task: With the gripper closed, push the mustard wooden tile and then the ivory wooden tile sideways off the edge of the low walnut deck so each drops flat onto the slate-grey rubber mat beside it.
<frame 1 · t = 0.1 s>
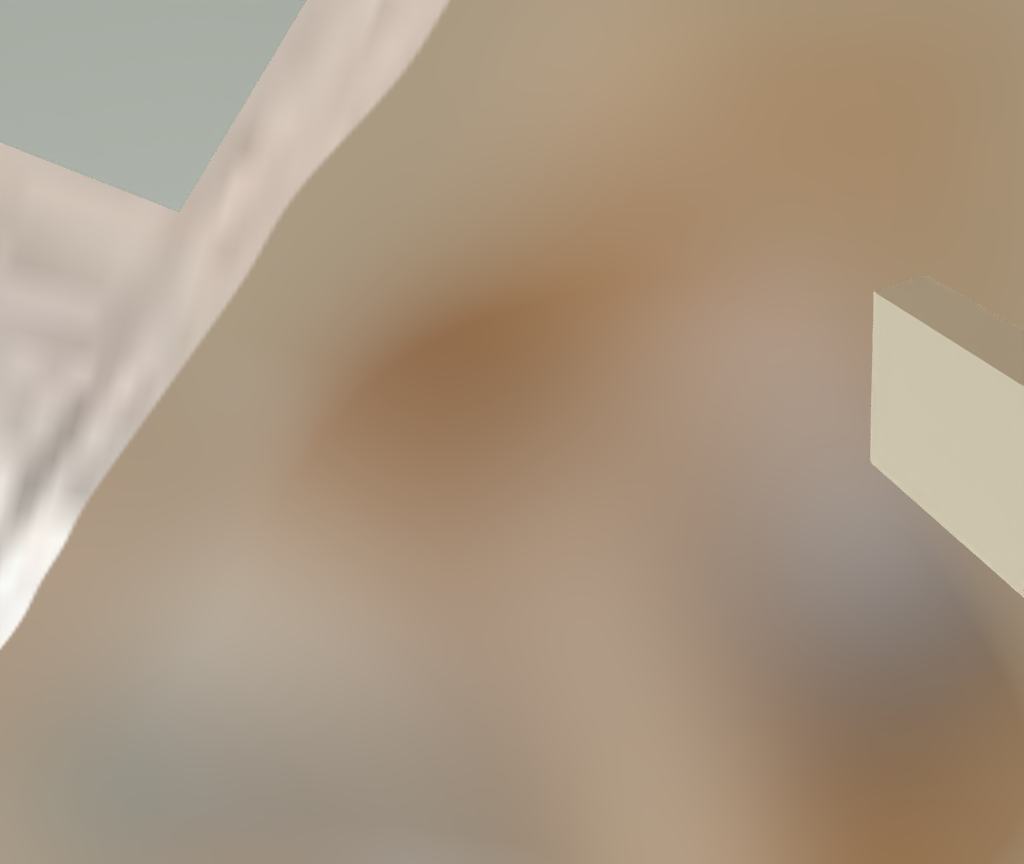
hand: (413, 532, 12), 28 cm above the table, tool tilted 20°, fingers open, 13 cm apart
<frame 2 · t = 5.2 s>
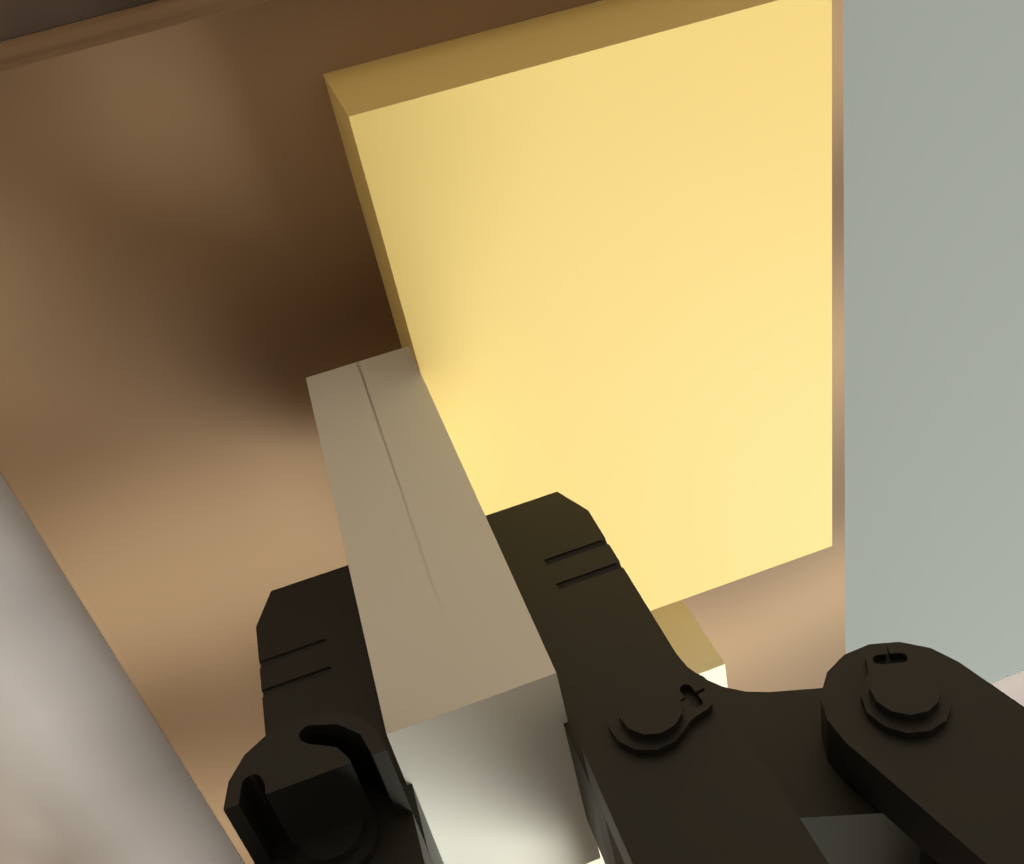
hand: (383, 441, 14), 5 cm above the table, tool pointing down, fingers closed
mustard tile: (582, 307, 16), point 3 cm above the table, touching walnut deck
slate mat: (1011, 320, 23), on the table
ivory tile: (565, 768, 21), point 3 cm above the table, touching walnut deck
walnut deck: (478, 505, 21), on the table
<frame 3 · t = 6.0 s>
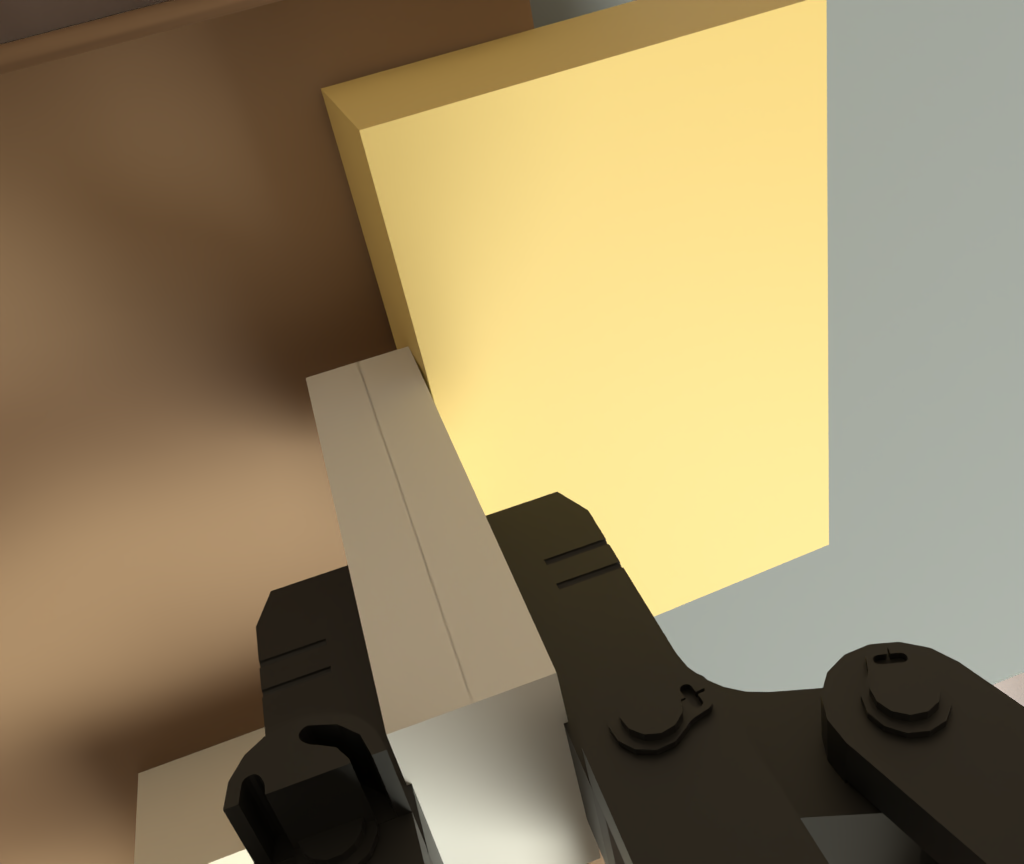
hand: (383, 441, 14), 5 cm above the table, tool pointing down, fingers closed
mustard tile: (577, 316, 16), point 3 cm above the table, touching gripper, walnut deck
slate mat: (830, 385, 22), on the table
ivory tile: (360, 850, 21), point 3 cm above the table, touching walnut deck
walnut deck: (265, 580, 20), on the table
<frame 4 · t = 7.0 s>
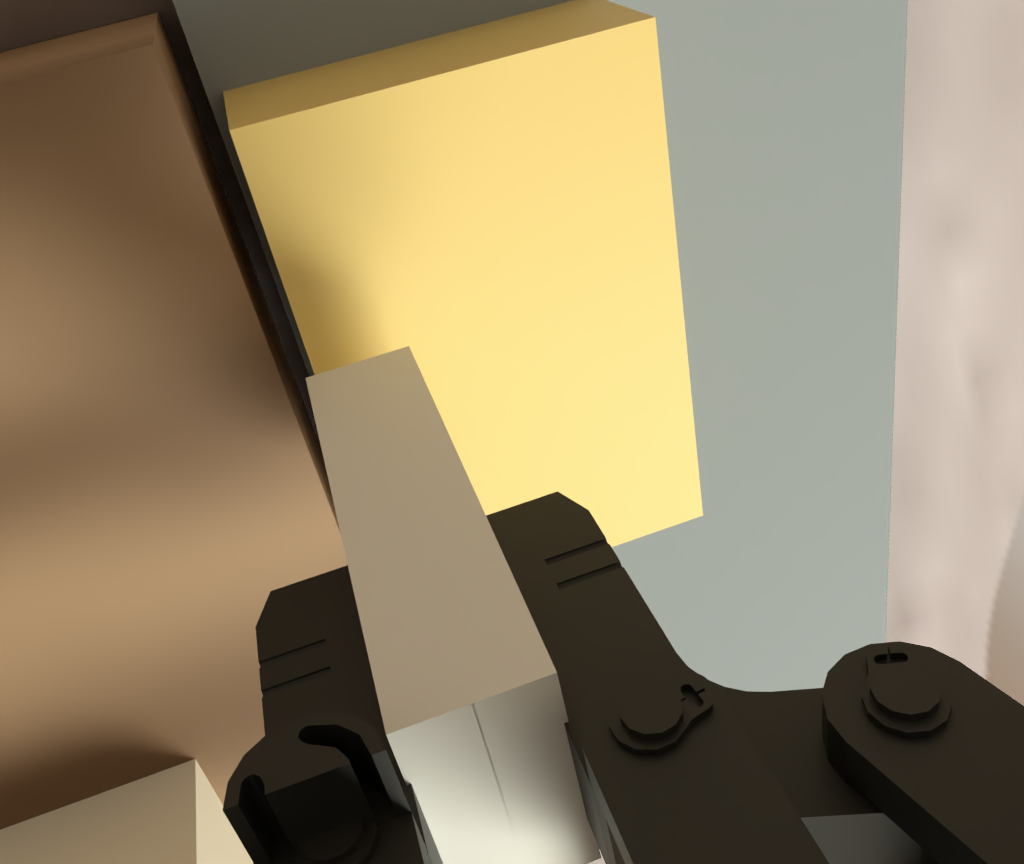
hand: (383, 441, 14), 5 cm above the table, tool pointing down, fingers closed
mustard tile: (472, 299, 17), point 1 cm above the table, touching slate mat
slate mat: (633, 460, 21), on the table
walnut deck: (30, 667, 20), on the table
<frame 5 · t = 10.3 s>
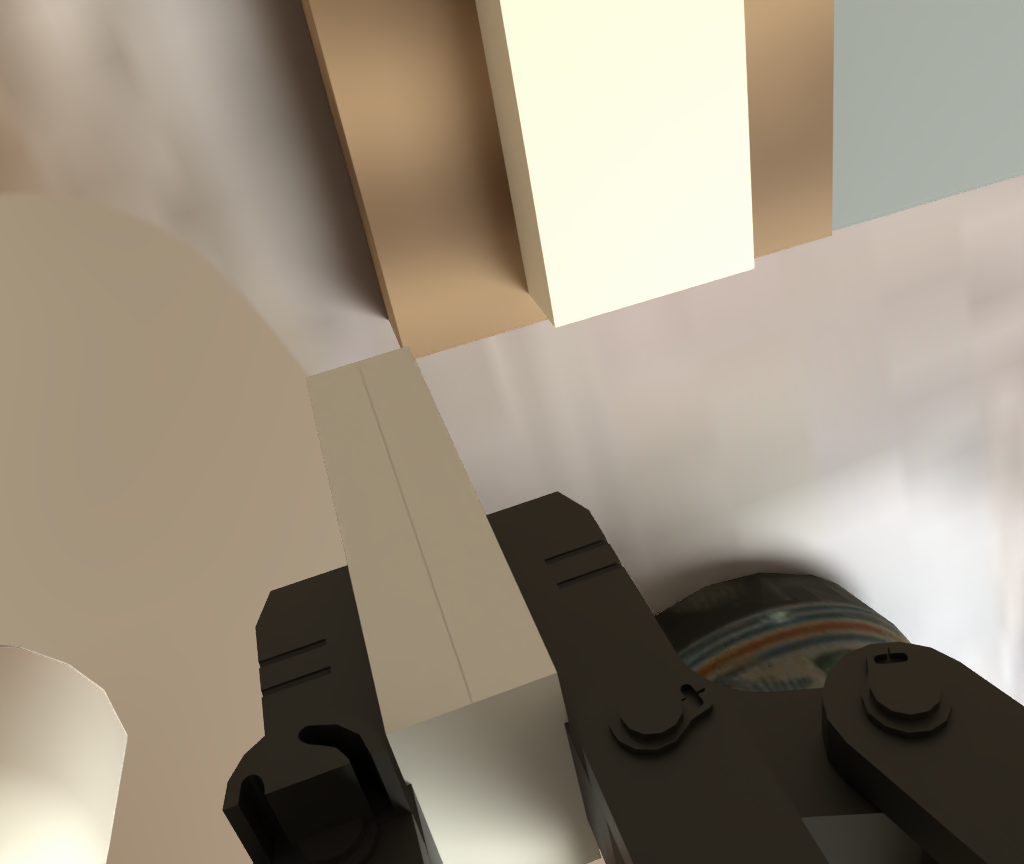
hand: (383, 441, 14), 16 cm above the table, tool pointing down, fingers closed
beer stein: (753, 693, 46), on the table
ivory tile: (604, 116, 26), point 3 cm above the table, touching walnut deck
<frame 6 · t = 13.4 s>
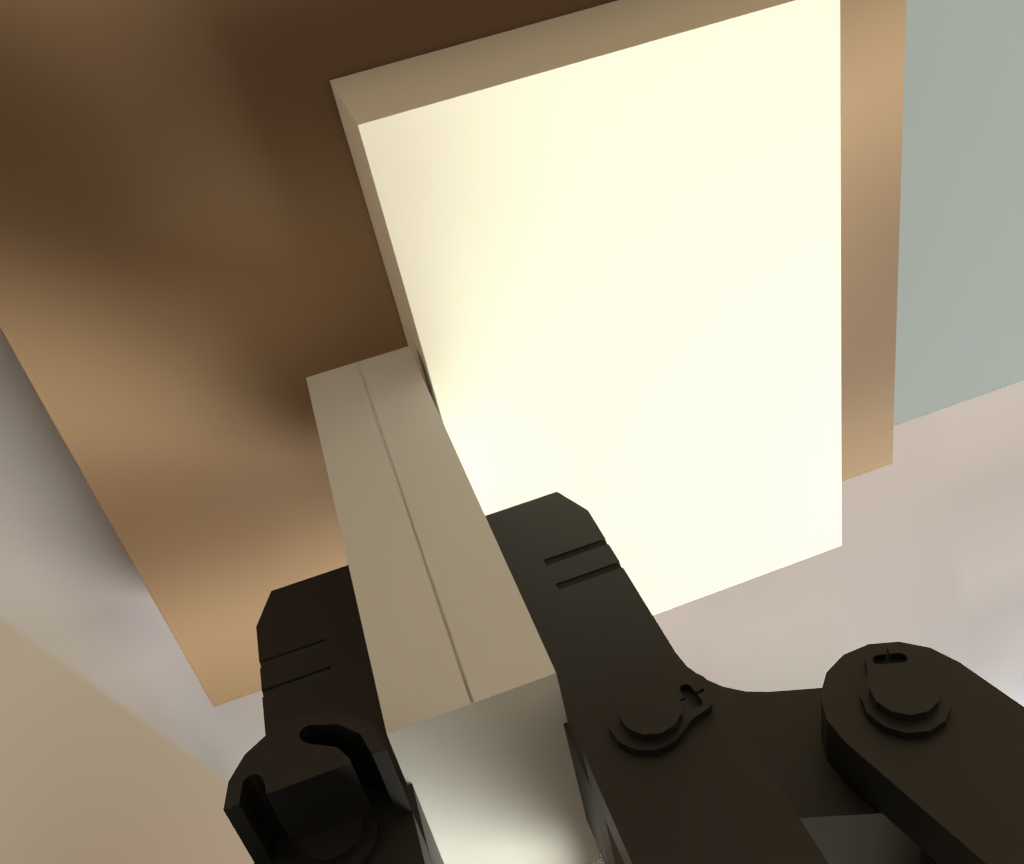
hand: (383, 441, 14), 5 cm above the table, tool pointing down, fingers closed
ivory tile: (589, 310, 16), point 3 cm above the table, touching walnut deck
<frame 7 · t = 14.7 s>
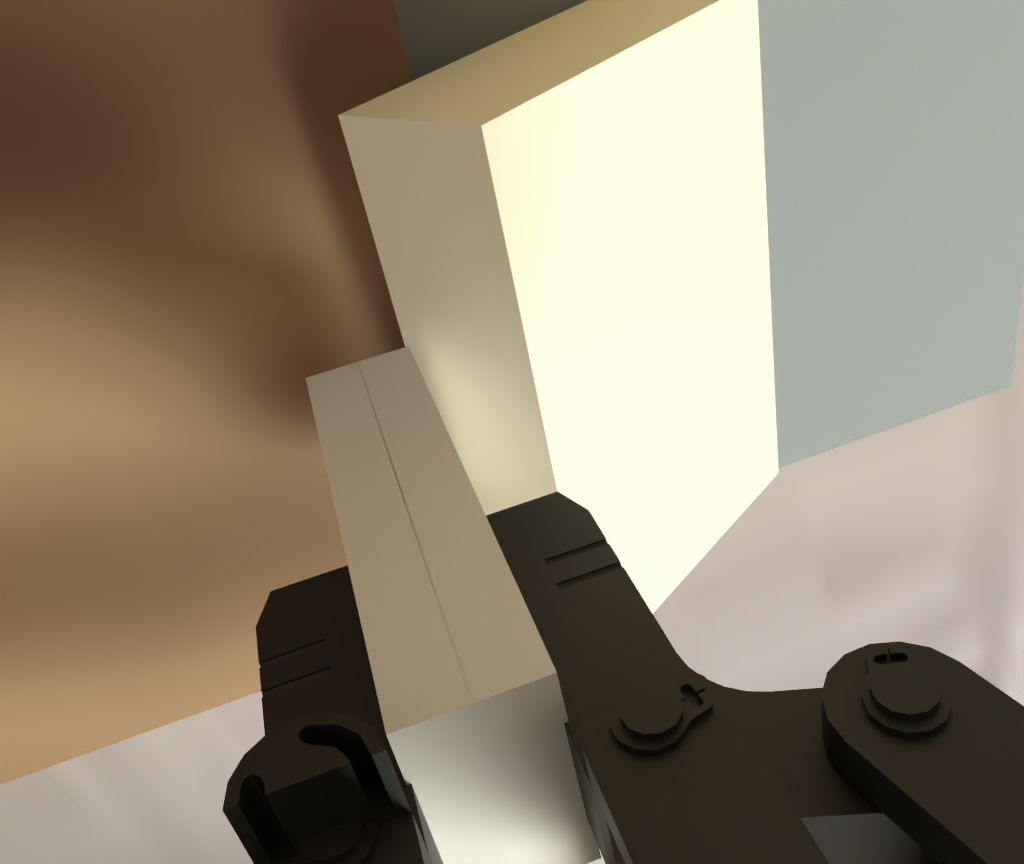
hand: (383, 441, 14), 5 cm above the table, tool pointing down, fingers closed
ivory tile: (547, 319, 16), point 2 cm above the table, tilted 32°, touching slate mat
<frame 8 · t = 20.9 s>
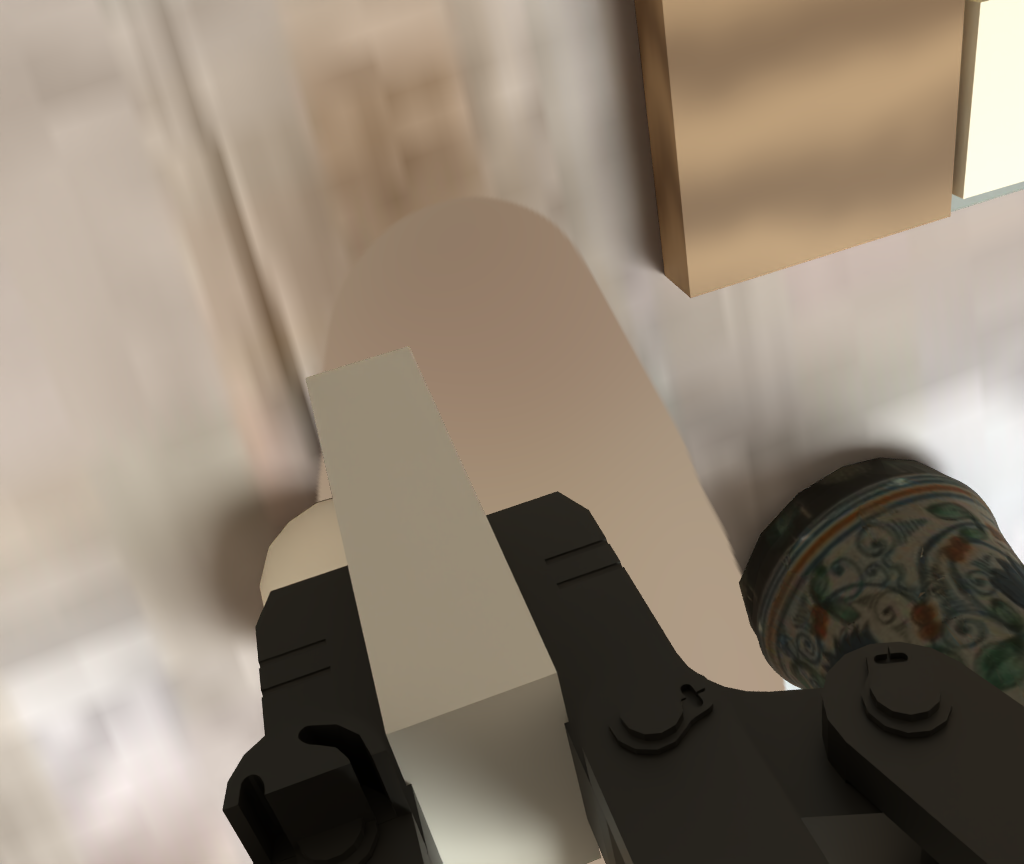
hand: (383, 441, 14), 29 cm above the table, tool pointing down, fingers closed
beer stein: (868, 552, 63), on the table
teardrop: (363, 571, 52), on the table
ivory tile: (990, 80, 47), point 1 cm above the table, touching slate mat
walnut deck: (784, 8, 43), on the table
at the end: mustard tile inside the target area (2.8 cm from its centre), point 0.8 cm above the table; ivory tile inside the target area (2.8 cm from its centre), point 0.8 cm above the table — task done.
